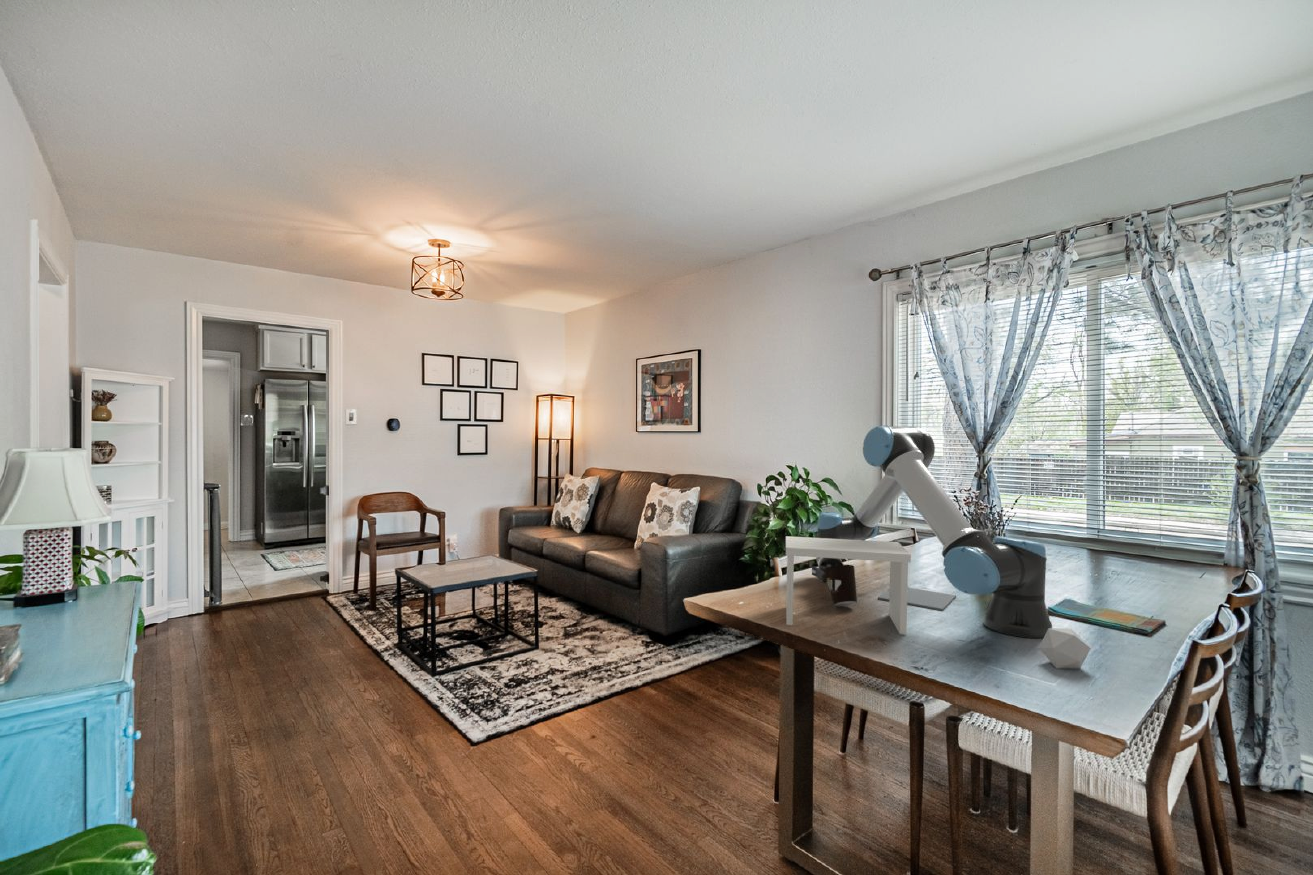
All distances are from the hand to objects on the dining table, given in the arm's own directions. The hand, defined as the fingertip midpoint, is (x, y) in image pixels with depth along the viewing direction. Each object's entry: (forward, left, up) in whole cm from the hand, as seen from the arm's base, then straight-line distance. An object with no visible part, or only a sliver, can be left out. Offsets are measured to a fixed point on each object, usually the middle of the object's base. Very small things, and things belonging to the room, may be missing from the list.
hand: (838, 585), depth 170 cm
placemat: (+4, -31, -7) cm, 32 cm away
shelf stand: (-8, +4, -7) cm, 12 cm away
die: (-48, -24, -7) cm, 54 cm away
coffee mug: (+1, -3, -6) cm, 7 cm away
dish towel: (-26, -67, -8) cm, 72 cm away
